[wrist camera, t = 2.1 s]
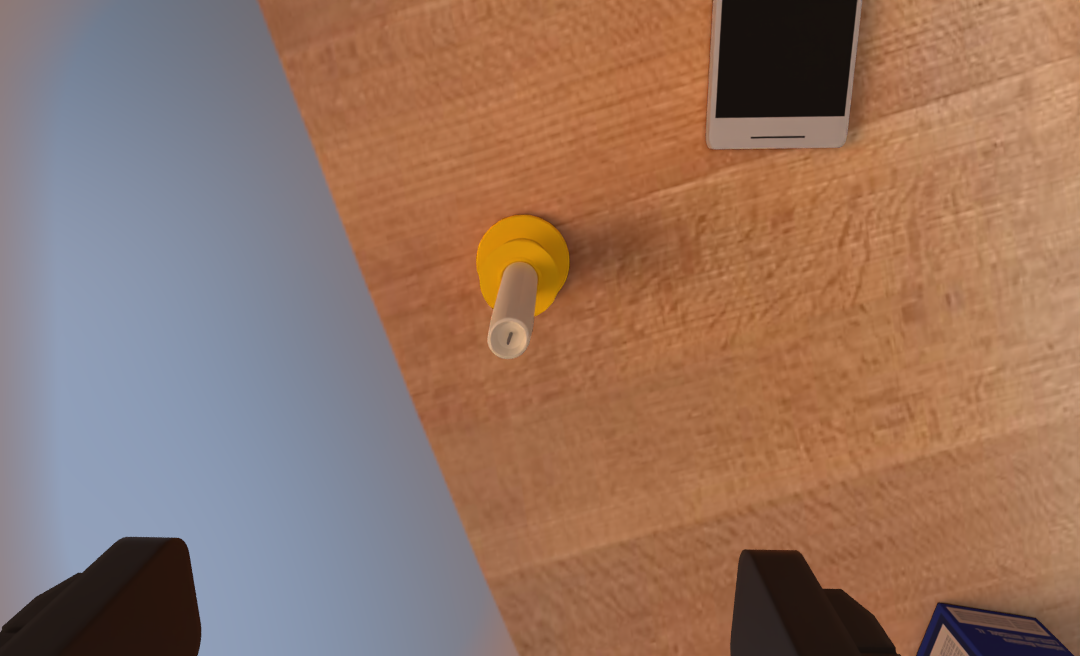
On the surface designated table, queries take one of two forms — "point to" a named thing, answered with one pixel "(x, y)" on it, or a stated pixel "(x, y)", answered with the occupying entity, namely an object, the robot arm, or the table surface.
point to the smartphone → (781, 73)
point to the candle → (519, 278)
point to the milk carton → (987, 634)
